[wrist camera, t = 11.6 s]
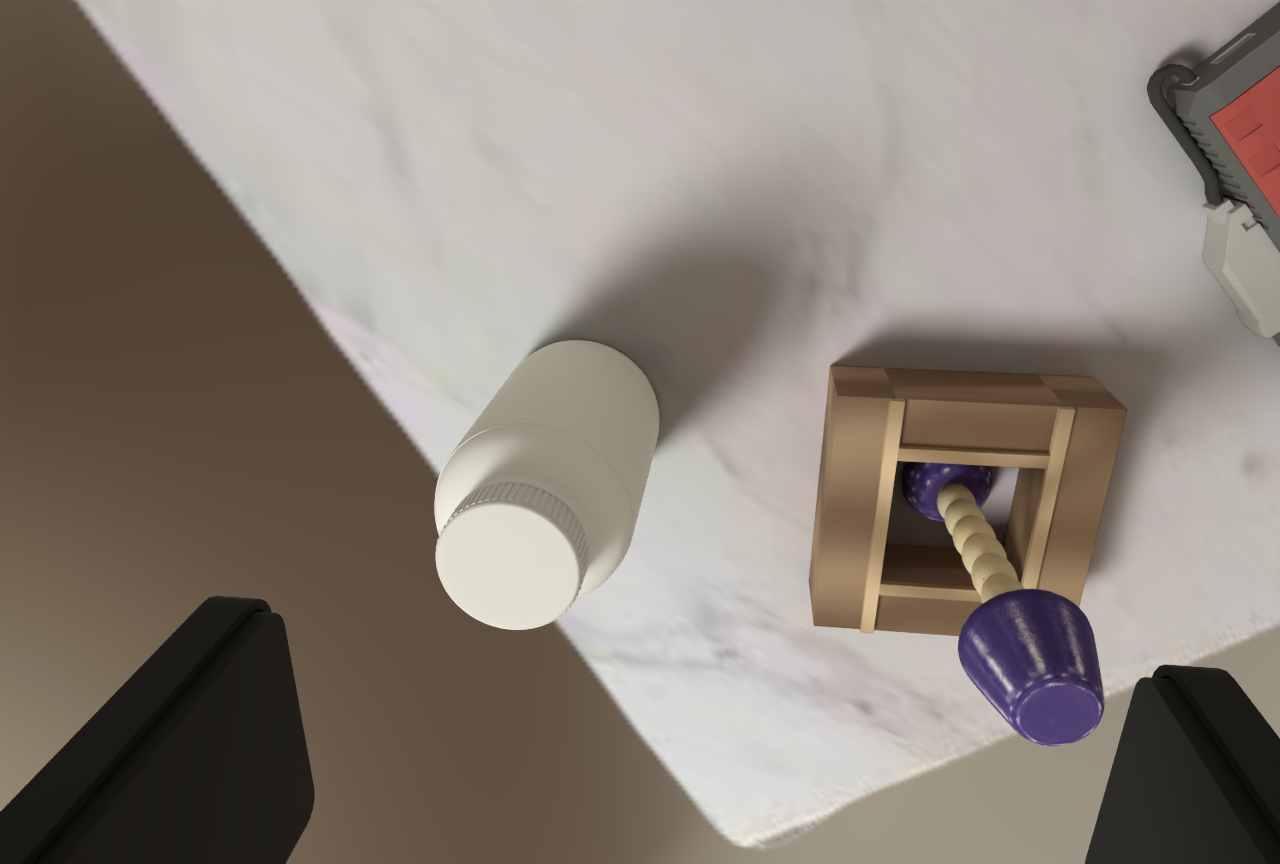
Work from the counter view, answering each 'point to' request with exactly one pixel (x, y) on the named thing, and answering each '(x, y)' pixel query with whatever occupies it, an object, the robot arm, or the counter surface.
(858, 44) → the counter surface
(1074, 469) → the tan wooden square frame
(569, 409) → the pill bottle
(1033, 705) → the toy lamp
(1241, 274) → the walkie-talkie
